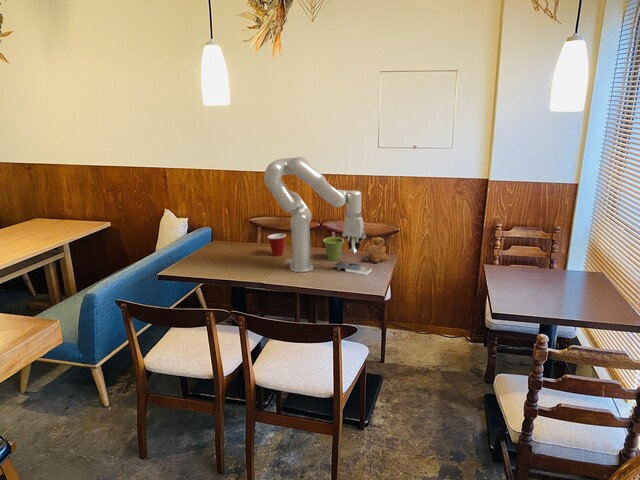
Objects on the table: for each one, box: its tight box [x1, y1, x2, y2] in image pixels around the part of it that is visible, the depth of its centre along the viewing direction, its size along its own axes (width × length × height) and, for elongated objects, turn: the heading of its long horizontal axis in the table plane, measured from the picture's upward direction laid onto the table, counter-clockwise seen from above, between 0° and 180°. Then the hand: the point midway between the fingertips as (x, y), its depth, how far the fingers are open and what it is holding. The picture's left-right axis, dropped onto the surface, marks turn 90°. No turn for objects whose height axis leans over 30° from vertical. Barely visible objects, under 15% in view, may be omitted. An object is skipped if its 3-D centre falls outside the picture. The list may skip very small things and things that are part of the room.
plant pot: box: [322, 236, 345, 261], centre depth 275 cm, size 12×12×11 cm
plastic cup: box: [267, 233, 287, 257], centre depth 283 cm, size 11×11×12 cm
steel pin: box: [350, 237, 358, 254], centre depth 253 cm, size 3×3×8 cm
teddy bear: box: [365, 236, 391, 264], centre depth 271 cm, size 10×14×13 cm
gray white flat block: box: [334, 260, 373, 276], centre depth 257 cm, size 18×7×3 cm, turn 62°
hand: (354, 248), depth 254 cm, fingers closed on steel pin, 3 cm apart
